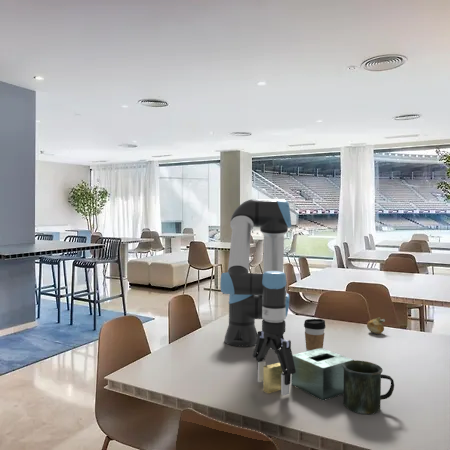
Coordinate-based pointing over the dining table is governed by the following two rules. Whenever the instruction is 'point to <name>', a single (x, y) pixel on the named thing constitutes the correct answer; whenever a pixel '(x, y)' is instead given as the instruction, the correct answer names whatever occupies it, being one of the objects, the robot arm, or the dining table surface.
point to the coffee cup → (314, 333)
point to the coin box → (319, 373)
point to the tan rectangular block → (272, 378)
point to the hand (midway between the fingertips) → (272, 387)
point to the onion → (376, 325)
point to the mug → (364, 386)
